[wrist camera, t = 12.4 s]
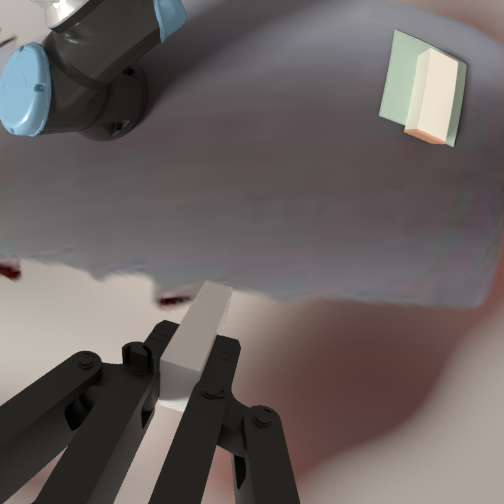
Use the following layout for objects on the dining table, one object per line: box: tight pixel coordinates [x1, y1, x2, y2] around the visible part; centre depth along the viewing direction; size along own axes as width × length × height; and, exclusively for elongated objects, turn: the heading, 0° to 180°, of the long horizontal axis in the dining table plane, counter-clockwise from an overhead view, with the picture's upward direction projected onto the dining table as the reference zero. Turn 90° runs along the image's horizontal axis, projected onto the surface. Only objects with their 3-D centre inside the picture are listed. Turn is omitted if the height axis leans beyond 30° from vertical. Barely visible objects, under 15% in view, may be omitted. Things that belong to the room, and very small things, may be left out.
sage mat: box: [379, 30, 467, 147], centre depth 36 cm, size 14×16×1 cm
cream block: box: [404, 48, 458, 144], centre depth 34 cm, size 5×5×14 cm
